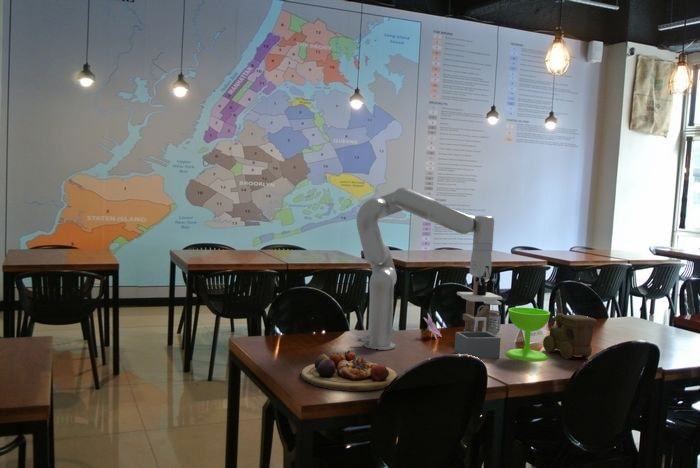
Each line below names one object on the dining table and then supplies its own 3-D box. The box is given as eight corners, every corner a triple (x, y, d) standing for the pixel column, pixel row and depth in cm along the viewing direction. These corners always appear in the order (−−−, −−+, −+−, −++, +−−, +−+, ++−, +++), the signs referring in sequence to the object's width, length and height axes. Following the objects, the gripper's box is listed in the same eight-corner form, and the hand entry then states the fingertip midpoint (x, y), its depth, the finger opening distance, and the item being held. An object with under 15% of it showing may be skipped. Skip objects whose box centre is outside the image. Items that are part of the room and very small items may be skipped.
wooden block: (488, 338, 279) (490, 297, 278) (466, 339, 276) (469, 298, 275) (483, 336, 283) (485, 296, 282) (462, 337, 279) (464, 296, 278)
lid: (468, 301, 240) (469, 283, 239) (456, 296, 250) (457, 279, 250) (502, 302, 243) (503, 284, 243) (489, 297, 254) (490, 280, 253)
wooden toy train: (596, 361, 247) (599, 319, 246) (572, 362, 243) (575, 319, 242) (561, 348, 266) (564, 309, 265) (539, 350, 261) (541, 310, 260)
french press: (504, 334, 288) (507, 280, 286) (478, 333, 288) (481, 279, 286) (499, 330, 298) (502, 277, 296) (474, 329, 298) (477, 276, 296)
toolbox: (465, 359, 241) (467, 325, 240) (450, 349, 255) (452, 317, 254) (500, 358, 244) (502, 324, 244) (483, 349, 258) (485, 317, 258)
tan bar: (478, 327, 256) (479, 321, 256) (462, 319, 271) (463, 313, 271) (483, 327, 256) (483, 321, 256) (467, 319, 272) (467, 313, 272)
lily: (424, 343, 269) (436, 325, 267) (407, 328, 277) (419, 310, 276) (440, 348, 277) (452, 330, 276) (423, 333, 285) (435, 315, 284)
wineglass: (497, 352, 254) (500, 308, 253) (529, 350, 260) (532, 306, 259) (523, 362, 239) (526, 315, 238) (556, 360, 246) (559, 314, 245)
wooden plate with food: (417, 385, 206) (418, 360, 206) (335, 398, 188) (336, 370, 188) (360, 363, 232) (361, 341, 232) (283, 373, 214) (284, 348, 214)
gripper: (464, 245, 252) (461, 290, 254) (482, 249, 237) (479, 297, 238) (482, 245, 254) (479, 291, 255) (501, 249, 238) (497, 298, 240)
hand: (479, 293), depth 247 cm, fingers closed on lid, 3 cm apart
